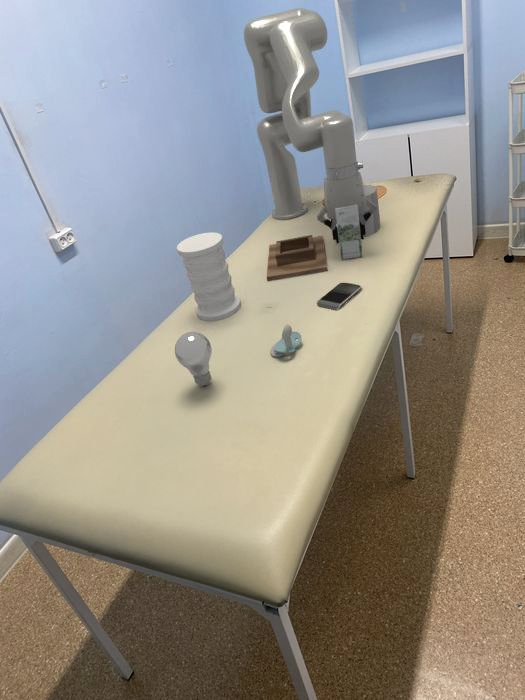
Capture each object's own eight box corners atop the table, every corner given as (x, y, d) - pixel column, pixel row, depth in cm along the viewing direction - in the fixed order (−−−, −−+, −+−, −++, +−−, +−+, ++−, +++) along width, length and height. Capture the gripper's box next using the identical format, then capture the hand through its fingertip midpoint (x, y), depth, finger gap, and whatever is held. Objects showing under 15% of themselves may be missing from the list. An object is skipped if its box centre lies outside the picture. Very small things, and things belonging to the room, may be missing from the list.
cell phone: (364, 290, 118) (363, 284, 117) (338, 312, 112) (337, 307, 111) (342, 286, 122) (341, 281, 121) (315, 307, 116) (314, 302, 115)
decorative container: (229, 292, 131) (212, 228, 121) (249, 307, 122) (231, 239, 112) (189, 309, 128) (168, 244, 118) (207, 326, 118) (185, 257, 109)
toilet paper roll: (386, 222, 148) (383, 183, 142) (371, 239, 141) (367, 199, 134) (349, 222, 155) (344, 185, 148) (332, 238, 147) (327, 199, 141)
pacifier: (265, 359, 103) (291, 361, 100) (258, 333, 99) (284, 335, 96) (281, 339, 108) (305, 341, 104) (274, 314, 104) (300, 316, 101)
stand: (270, 248, 150) (267, 235, 148) (323, 239, 148) (321, 225, 145) (267, 281, 132) (264, 266, 130) (327, 271, 130) (325, 256, 127)
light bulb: (208, 399, 95) (190, 347, 88) (181, 392, 99) (162, 342, 92) (228, 377, 99) (213, 326, 93) (201, 371, 103) (185, 322, 97)
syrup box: (361, 248, 136) (356, 197, 128) (362, 257, 131) (357, 204, 124) (340, 252, 137) (333, 200, 129) (341, 261, 133) (334, 208, 125)
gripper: (375, 160, 124) (380, 228, 134) (306, 173, 126) (316, 240, 136) (379, 168, 118) (384, 239, 128) (307, 182, 120) (317, 251, 130)
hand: (349, 239), depth 132 cm, fingers closed on syrup box, 5 cm apart
